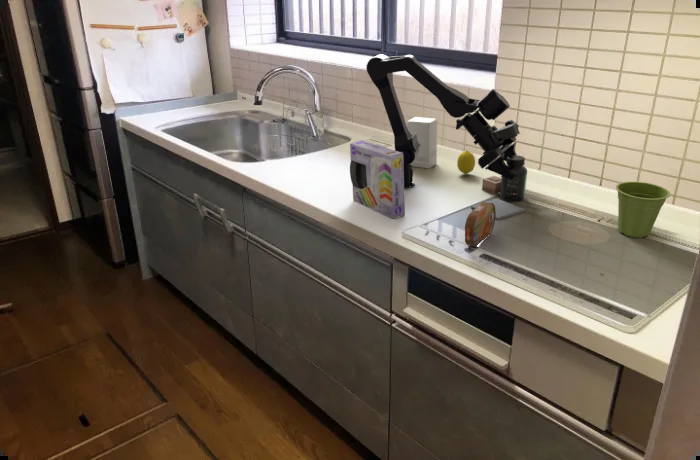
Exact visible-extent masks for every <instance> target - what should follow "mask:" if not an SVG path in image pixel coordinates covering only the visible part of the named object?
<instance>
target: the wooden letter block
mask: <svg viewBox="0 0 700 460" xmlns="http://www.w3.org/2000/svg"><path fill="white" fill-rule="evenodd" d="M500 188H501V177H500V176H496V175H493V176H489V177H485V178H483V179H482V186H481V190H482V191H484V192H488V193H490V194H493V195H497V194H500Z"/></svg>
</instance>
